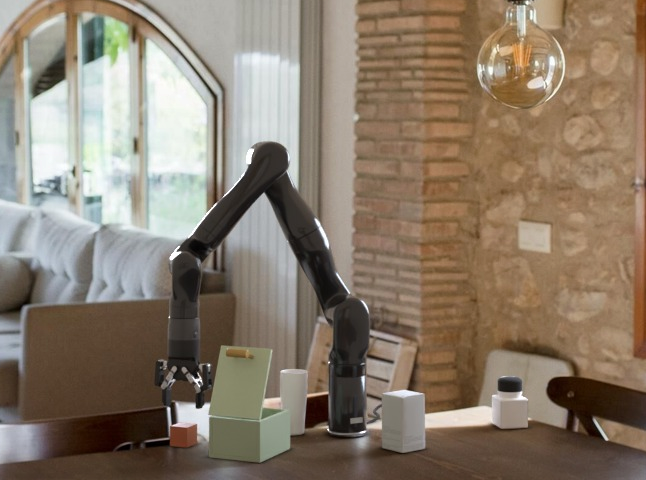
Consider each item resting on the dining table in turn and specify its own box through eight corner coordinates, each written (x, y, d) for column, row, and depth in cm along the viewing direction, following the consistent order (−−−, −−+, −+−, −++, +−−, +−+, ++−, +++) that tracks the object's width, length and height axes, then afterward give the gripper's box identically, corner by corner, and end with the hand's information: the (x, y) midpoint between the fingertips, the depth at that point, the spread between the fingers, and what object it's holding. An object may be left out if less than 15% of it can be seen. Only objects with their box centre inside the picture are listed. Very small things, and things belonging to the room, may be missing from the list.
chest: (240, 443, 299) (241, 405, 299) (290, 448, 294) (290, 409, 294) (208, 457, 285) (208, 416, 285) (259, 462, 280) (260, 421, 280)
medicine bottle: (528, 428, 316) (528, 379, 316) (500, 429, 315) (500, 380, 315) (518, 422, 323) (518, 374, 323) (491, 423, 322) (491, 375, 322)
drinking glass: (309, 431, 313) (309, 369, 313) (305, 437, 306) (305, 373, 306) (281, 430, 313) (282, 368, 314) (277, 436, 306) (277, 373, 307)
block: (180, 442, 301) (180, 422, 301) (197, 443, 299) (197, 423, 299) (169, 446, 296) (169, 425, 296) (186, 447, 294) (187, 427, 295)
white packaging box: (426, 449, 293) (426, 393, 294) (401, 453, 289) (401, 397, 289) (405, 443, 299) (404, 388, 299) (380, 448, 294) (380, 392, 295)
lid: (222, 346, 291) (212, 340, 287) (272, 349, 286) (263, 344, 282) (209, 415, 286) (199, 410, 282) (260, 420, 281) (250, 415, 276)
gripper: (218, 336, 299) (218, 406, 298) (166, 332, 305) (165, 401, 304) (202, 340, 292) (201, 412, 291) (149, 336, 298) (148, 407, 297)
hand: (183, 406), depth 298 cm, fingers open, 8 cm apart
